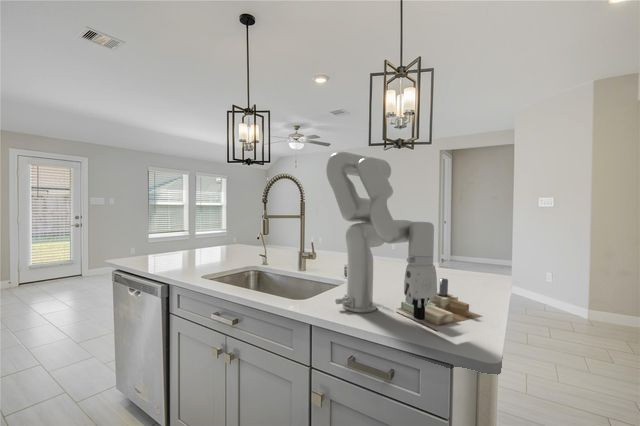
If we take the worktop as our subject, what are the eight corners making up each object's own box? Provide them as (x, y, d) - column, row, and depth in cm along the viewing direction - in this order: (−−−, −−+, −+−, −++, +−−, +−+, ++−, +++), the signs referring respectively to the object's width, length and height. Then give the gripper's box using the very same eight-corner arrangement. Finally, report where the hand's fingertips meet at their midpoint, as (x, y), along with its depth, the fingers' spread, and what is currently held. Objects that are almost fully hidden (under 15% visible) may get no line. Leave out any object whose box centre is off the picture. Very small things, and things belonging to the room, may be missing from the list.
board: (436, 331, 92) (436, 313, 92) (396, 312, 108) (396, 297, 108) (482, 320, 102) (483, 304, 102) (439, 304, 118) (440, 290, 118)
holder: (444, 310, 107) (444, 299, 107) (428, 304, 113) (429, 293, 113) (457, 307, 110) (458, 296, 110) (442, 302, 116) (442, 291, 116)
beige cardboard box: (437, 324, 93) (437, 316, 93) (418, 316, 100) (418, 308, 100) (452, 321, 96) (453, 313, 96) (433, 313, 104) (433, 305, 103)
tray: (417, 315, 101) (417, 308, 101) (401, 308, 107) (401, 301, 107) (436, 312, 105) (436, 304, 105) (420, 305, 112) (420, 298, 112)
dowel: (443, 307, 110) (444, 280, 109) (437, 305, 112) (438, 278, 112) (448, 306, 111) (449, 279, 111) (442, 304, 113) (443, 278, 113)
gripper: (411, 264, 88) (409, 326, 88) (447, 261, 95) (445, 319, 95) (394, 260, 95) (392, 318, 95) (428, 257, 101) (427, 311, 102)
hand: (419, 318), depth 95 cm, fingers closed
